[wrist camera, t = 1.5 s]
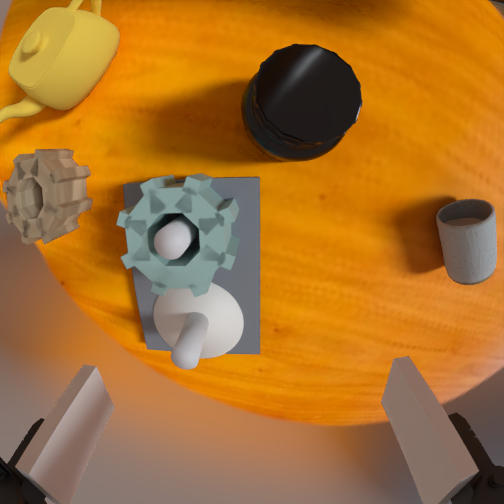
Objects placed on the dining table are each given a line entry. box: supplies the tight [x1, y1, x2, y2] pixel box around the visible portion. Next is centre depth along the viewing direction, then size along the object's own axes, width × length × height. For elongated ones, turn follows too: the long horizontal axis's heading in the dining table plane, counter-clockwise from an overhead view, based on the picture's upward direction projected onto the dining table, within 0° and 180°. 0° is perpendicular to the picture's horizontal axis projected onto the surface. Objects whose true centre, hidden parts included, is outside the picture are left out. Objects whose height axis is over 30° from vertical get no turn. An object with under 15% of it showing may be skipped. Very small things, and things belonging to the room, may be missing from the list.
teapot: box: [0, 0, 120, 123], centre depth 19 cm, size 18×11×11 cm, turn 143°
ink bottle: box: [241, 44, 362, 162], centre depth 21 cm, size 10×9×12 cm
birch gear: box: [3, 149, 93, 245], centre depth 26 cm, size 10×10×6 cm
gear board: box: [116, 173, 260, 369], centre depth 28 cm, size 21×14×8 cm, turn 1°
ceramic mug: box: [436, 199, 497, 285], centre depth 26 cm, size 11×8×8 cm
